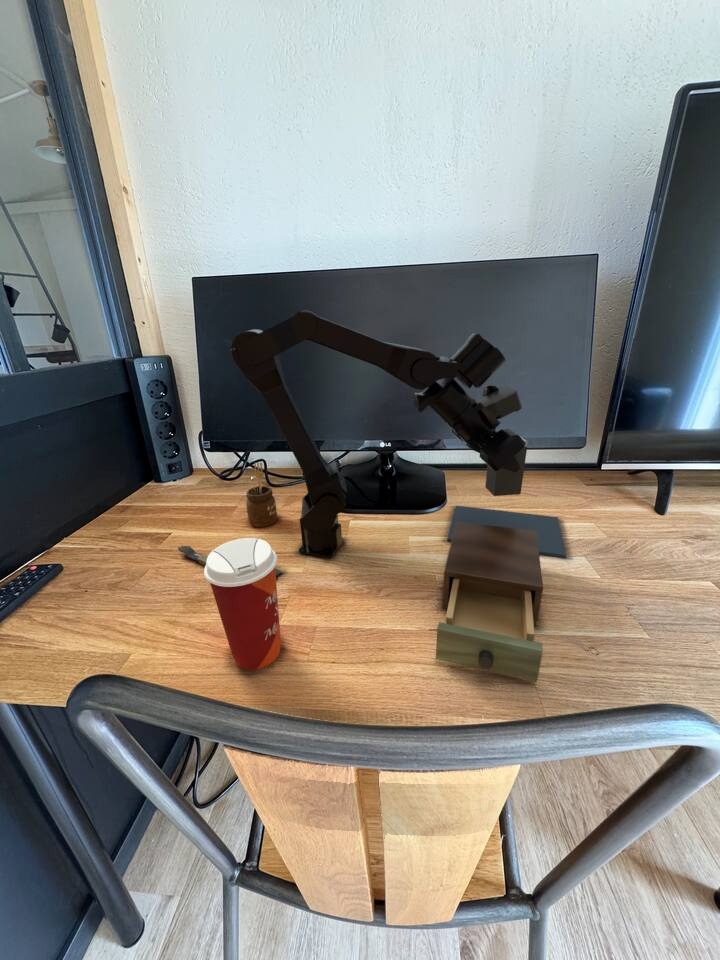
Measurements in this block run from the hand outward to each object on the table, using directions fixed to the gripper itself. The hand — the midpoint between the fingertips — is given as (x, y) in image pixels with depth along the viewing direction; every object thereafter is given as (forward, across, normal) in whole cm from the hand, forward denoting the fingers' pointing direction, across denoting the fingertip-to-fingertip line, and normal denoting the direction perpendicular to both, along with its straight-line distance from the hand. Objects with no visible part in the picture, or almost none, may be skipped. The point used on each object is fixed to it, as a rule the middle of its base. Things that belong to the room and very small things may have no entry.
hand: (512, 466), depth 72 cm
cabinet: (+3, -15, +16) cm, 22 cm away
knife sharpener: (+2, 0, +4) cm, 5 cm away
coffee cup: (-21, -24, +41) cm, 52 cm away
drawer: (-1, -26, +19) cm, 32 cm away
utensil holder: (-24, +12, +43) cm, 51 cm away
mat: (+10, 0, +9) cm, 13 cm away
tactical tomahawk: (-27, -3, +47) cm, 54 cm away
